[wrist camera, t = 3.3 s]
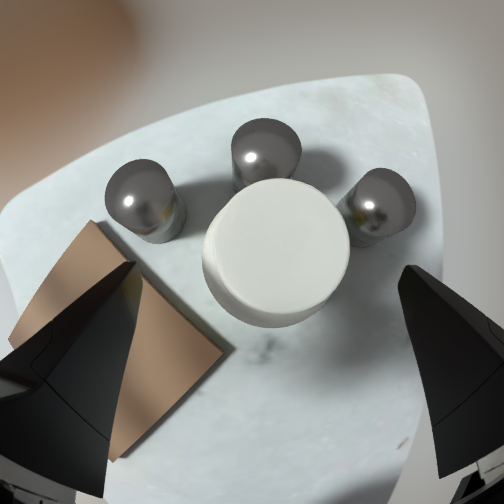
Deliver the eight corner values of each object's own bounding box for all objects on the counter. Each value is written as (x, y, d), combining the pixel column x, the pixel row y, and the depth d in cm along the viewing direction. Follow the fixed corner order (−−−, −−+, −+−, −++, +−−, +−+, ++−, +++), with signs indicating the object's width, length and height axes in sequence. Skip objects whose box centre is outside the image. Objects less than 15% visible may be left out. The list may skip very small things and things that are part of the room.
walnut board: (116, 457, 15) (112, 462, 14) (14, 338, 16) (7, 339, 15) (223, 351, 17) (222, 353, 16) (95, 222, 18) (90, 219, 17)
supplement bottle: (217, 228, 18) (194, 153, 8) (303, 230, 18) (363, 162, 9) (215, 317, 17) (185, 336, 8) (304, 317, 17) (373, 333, 8)
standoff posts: (383, 248, 18) (419, 233, 14) (130, 243, 17) (100, 226, 13) (374, 165, 19) (402, 135, 15) (141, 158, 18) (120, 123, 14)
